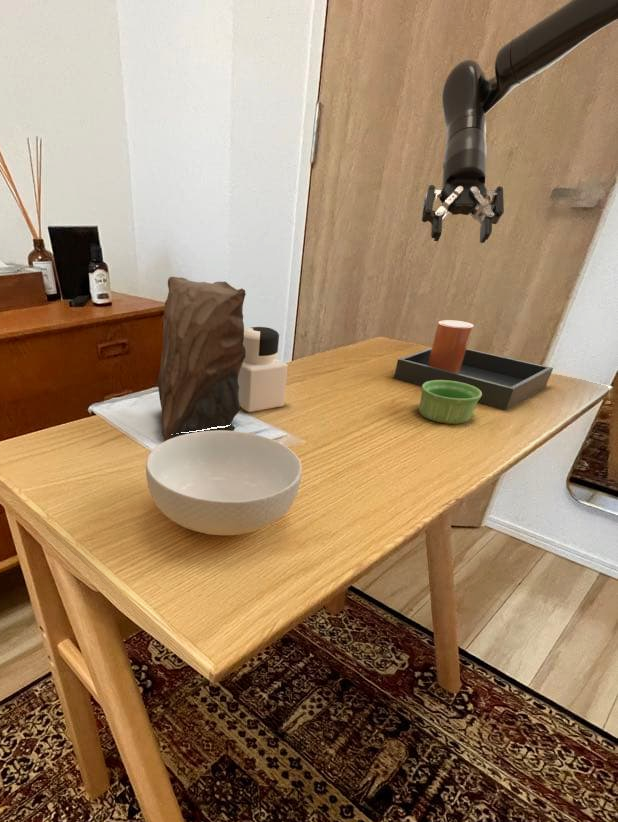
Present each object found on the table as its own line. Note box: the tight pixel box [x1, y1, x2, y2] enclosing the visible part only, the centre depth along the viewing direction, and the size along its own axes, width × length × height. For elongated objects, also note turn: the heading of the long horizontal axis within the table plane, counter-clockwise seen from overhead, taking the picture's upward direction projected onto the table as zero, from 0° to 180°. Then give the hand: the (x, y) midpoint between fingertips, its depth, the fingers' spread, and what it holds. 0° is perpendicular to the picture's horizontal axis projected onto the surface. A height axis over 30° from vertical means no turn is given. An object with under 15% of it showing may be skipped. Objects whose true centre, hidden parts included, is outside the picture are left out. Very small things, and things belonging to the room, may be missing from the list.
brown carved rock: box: [157, 276, 247, 442], centre depth 72 cm, size 13×13×20 cm
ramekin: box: [418, 380, 482, 425], centre depth 80 cm, size 9×9×4 cm
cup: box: [427, 319, 474, 374], centre depth 95 cm, size 6×6×9 cm
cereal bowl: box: [145, 430, 303, 536], centre depth 55 cm, size 17×17×7 cm
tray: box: [393, 346, 554, 411], centre depth 93 cm, size 18×22×4 cm
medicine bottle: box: [238, 326, 288, 413], centre depth 81 cm, size 7×7×12 cm
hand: (460, 239), depth 94 cm, fingers open, 8 cm apart
